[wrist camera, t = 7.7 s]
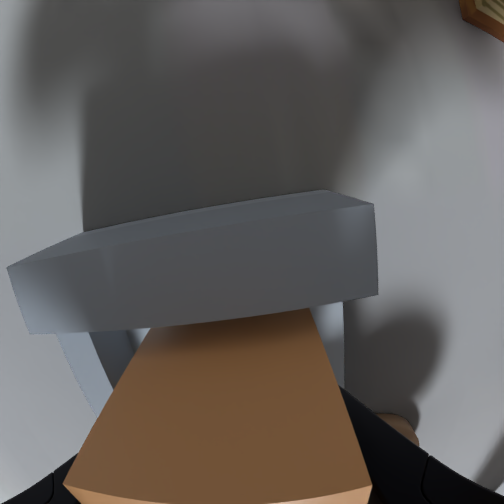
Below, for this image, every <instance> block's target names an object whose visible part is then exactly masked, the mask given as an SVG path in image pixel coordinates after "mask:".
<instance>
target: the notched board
mask: <svg viewBox="0 0 504 504" xmlns="http://www.w3.org/2000/svg"><path fill="white" fill-rule="evenodd" d="M7 271H8V274H9V277H10V281H11V284H12V287H13V290H14V293H15V296H16V299H17V302H18V305H19V307H20V310H21V313H22V316H23V318H24V321H25V323H26V326H27V328H28V331H29V333H30V334H56V335H57V338H58V340H59V342H60V345H61V347H62V350H63V352H64V354H65V356H66V359H67V361H68V363H69V365H70V367H71V369H72V371H73V374H74V376H75V378H76V380H77V382H78V384H79V386H80V388H81V390H82V391H83V393H84V395H85V397H86V399H87V401H88V403H89V405H90V406H91V408H92V410H93V412H94V413H95V415H96V417H97V418H98V416H99V415H100V413H101V411H102V409H103V407H104V406H105V404H106V402H107V400H108V399H109V397H110V395H111V393H112V392H113V390H114V388H115V386H116V385H117V383H118V381H119V380H120V378H121V376H122V374H123V373H124V371H125V369H126V368H127V366H128V364H129V363H130V361H131V359H132V358H133V356H134V354H135V353H136V351H137V349H138V348H139V346H140V344H141V343H142V341H143V339H144V338H145V336H146V334H147V333H148V331H149V330H150V328H155V327H166V326H176V325H186V324H195V323H204V322H212V321H221V320H229V319H236V318H244V317H251V316H258V315H265V314H272V313H279V312H285V311H292V310H298V309H304V308H309V309H310V311H311V314H312V317H313V319H314V322H315V324H316V327H317V330H318V332H319V335H320V338H321V340H322V343H323V346H324V348H325V351H326V354H327V356H328V359H329V362H330V364H331V367H332V370H333V373H334V375H335V378H336V381H337V384H338V385H339V386H341V387H342V388H343V389H344V324H343V302H344V301H349V300H355V299H360V298H365V297H370V296H375V295H378V262H377V241H376V226H375V213H374V204H372V203H369V202H366V201H362V200H359V199H356V198H352V197H349V196H346V195H342V194H339V193H335V192H332V191H328V190H325V189H324V190H317V191H309V192H302V193H294V194H287V195H280V196H274V197H267V198H260V199H254V200H247V201H241V202H235V203H229V204H223V205H217V206H211V207H206V208H200V209H194V210H189V211H183V212H178V213H173V214H168V215H162V216H157V217H152V218H147V219H142V220H137V221H133V222H128V223H123V224H118V225H114V226H109V227H104V228H100V229H95V230H91V231H87V232H82V233H80V234H78V235H75V236H73V237H71V238H68V239H66V240H64V241H62V242H59V243H57V244H55V245H53V246H50V247H48V248H46V249H44V250H42V251H39V252H37V253H35V254H33V255H31V256H29V257H27V258H25V259H23V260H20V261H18V262H16V263H14V264H12V265H10V266H8V267H7Z"/></svg>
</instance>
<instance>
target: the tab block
mask: <svg viewBox="0 0 504 504" xmlns="http://www.w3.org/2000/svg"><path fill="white" fill-rule="evenodd" d="M63 485H64V486H65V487H66V488H67V489H68V490H69V491H70V492H71V493H72V494H73V496H74V497H75V498H76V499H77V500H78V501H79V502H80V503H81V504H367V503H368V500H369V496H370V492H371V488H372V483H371V479H370V476H369V473H368V470H367V467H366V464H365V461H364V458H363V455H362V452H361V449H360V446H359V443H358V440H357V437H356V435H355V432H354V429H353V426H352V423H351V420H350V417H349V414H348V412H347V409H346V406H345V403H344V400H343V397H342V395H341V392H340V389H339V386H338V384H337V381H336V378H335V375H334V373H333V370H332V367H331V364H330V362H329V359H328V356H327V354H326V351H325V348H324V346H323V343H322V340H321V338H320V335H319V332H318V330H317V327H316V324H315V322H314V319H313V317H312V314H311V311H310V309H309V308H304V309H298V310H292V311H285V312H279V313H272V314H265V315H258V316H251V317H244V318H236V319H229V320H221V321H212V322H204V323H195V324H186V325H176V326H166V327H155V328H150V330H149V331H148V333H147V334H146V336H145V338H144V339H143V341H142V343H141V344H140V346H139V348H138V349H137V351H136V353H135V354H134V356H133V358H132V359H131V361H130V363H129V364H128V366H127V368H126V369H125V371H124V373H123V374H122V376H121V378H120V380H119V381H118V383H117V385H116V386H115V388H114V390H113V392H112V393H111V395H110V397H109V399H108V400H107V402H106V404H105V406H104V407H103V409H102V411H101V413H100V415H99V416H98V418H97V420H96V422H95V424H94V425H93V427H92V429H91V431H90V433H89V434H88V436H87V438H86V440H85V442H84V444H83V446H82V447H81V449H80V451H79V453H78V455H77V457H76V459H75V461H74V463H73V464H72V466H71V468H70V470H69V472H68V474H67V476H66V478H65V480H64V482H63Z"/></svg>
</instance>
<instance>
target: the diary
mask: <svg viewBox="0 0 504 504" xmlns="http://www.w3.org/2000/svg"><path fill="white" fill-rule="evenodd" d="M459 4H460V8H461V13H462V18H463V20H464V21H466V22H468V23H470V24H472V25H474V26H476V27H478V28H480V29H482V30H483V31H485V32H487V33H489V34H490V35H492V36H494V37H496V38H497V39H499V40H501V41H502V42H504V0H459Z"/></svg>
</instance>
